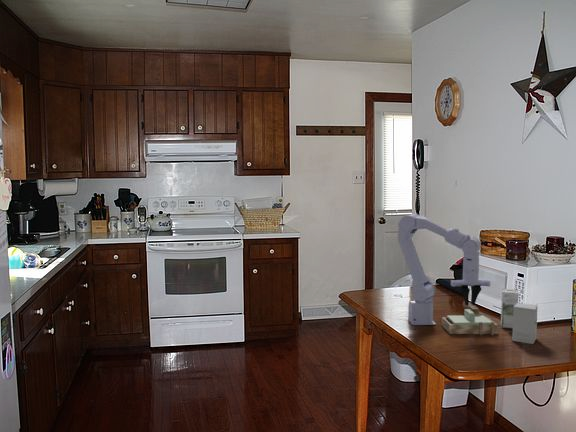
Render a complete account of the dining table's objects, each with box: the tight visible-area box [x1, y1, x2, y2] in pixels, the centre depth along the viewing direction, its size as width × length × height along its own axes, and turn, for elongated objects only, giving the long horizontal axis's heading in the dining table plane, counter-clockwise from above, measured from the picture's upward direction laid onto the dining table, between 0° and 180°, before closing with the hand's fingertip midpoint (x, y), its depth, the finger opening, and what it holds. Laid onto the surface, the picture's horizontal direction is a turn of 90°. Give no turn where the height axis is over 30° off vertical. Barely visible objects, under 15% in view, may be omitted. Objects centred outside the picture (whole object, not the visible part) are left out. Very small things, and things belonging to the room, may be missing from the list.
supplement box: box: [511, 302, 539, 345], centre depth 194 cm, size 7×7×13 cm
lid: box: [446, 308, 493, 325], centre depth 206 cm, size 14×10×4 cm, turn 90°
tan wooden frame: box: [441, 312, 499, 336], centre depth 206 cm, size 18×13×5 cm
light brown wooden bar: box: [462, 301, 480, 315], centre depth 217 cm, size 2×12×2 cm, turn 0°
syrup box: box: [500, 288, 519, 330], centre depth 209 cm, size 6×6×14 cm
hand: (469, 304), depth 205 cm, fingers closed
